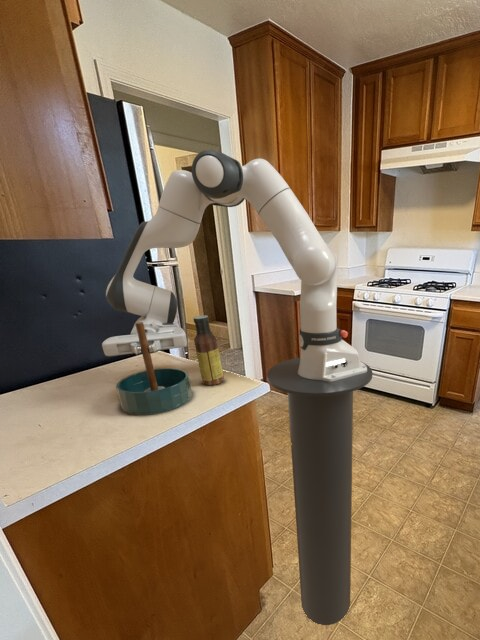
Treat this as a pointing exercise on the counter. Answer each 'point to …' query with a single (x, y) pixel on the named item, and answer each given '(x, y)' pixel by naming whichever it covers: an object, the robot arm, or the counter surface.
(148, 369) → the wooden dowel stand
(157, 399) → the bowl
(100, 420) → the counter surface
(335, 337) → the robot arm
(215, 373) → the sauce bottle
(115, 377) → the counter surface
